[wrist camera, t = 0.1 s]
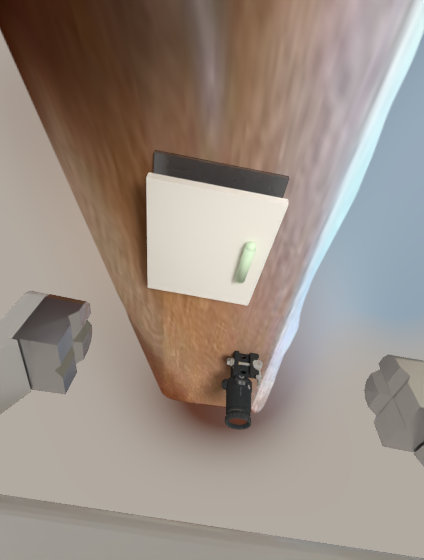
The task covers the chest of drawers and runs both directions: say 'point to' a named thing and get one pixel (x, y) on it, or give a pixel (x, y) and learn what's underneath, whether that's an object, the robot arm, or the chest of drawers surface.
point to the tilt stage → (208, 237)
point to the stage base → (220, 174)
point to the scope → (240, 389)
